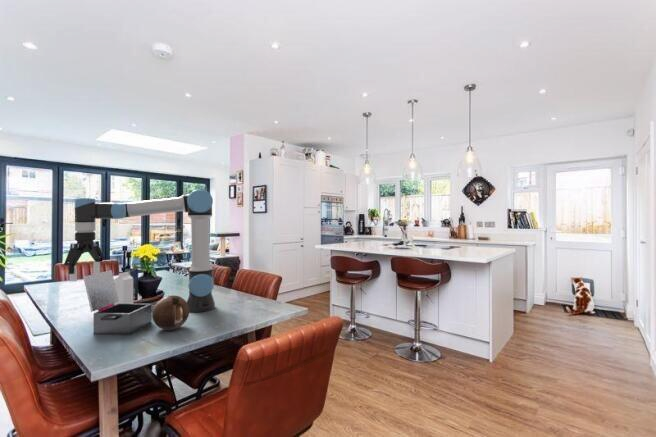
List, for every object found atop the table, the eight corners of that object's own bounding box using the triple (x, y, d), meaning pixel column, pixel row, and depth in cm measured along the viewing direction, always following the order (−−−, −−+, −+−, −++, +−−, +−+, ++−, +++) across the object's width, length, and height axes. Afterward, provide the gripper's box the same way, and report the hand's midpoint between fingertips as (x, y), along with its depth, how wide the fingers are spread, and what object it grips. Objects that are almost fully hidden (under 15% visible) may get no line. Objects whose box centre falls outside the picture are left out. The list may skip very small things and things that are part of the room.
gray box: (154, 321, 158) (154, 302, 158) (126, 336, 138) (125, 315, 138) (122, 320, 159) (122, 302, 159) (89, 336, 138) (89, 315, 138)
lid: (111, 269, 157) (106, 271, 157) (84, 276, 141) (78, 277, 141) (118, 301, 157) (113, 302, 157) (92, 311, 140) (86, 312, 141)
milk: (114, 316, 166) (113, 273, 166) (124, 313, 172) (123, 271, 171) (123, 317, 164) (123, 273, 164) (133, 313, 170) (133, 271, 170)
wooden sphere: (152, 326, 150) (152, 294, 150) (187, 321, 158) (187, 290, 158) (152, 337, 137) (152, 301, 137) (191, 331, 145) (191, 297, 145)
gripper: (97, 230, 162) (97, 273, 162) (53, 233, 137) (53, 283, 137) (112, 230, 161) (112, 273, 161) (70, 233, 136) (70, 283, 136)
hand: (85, 278), depth 149 cm, fingers open, 13 cm apart
